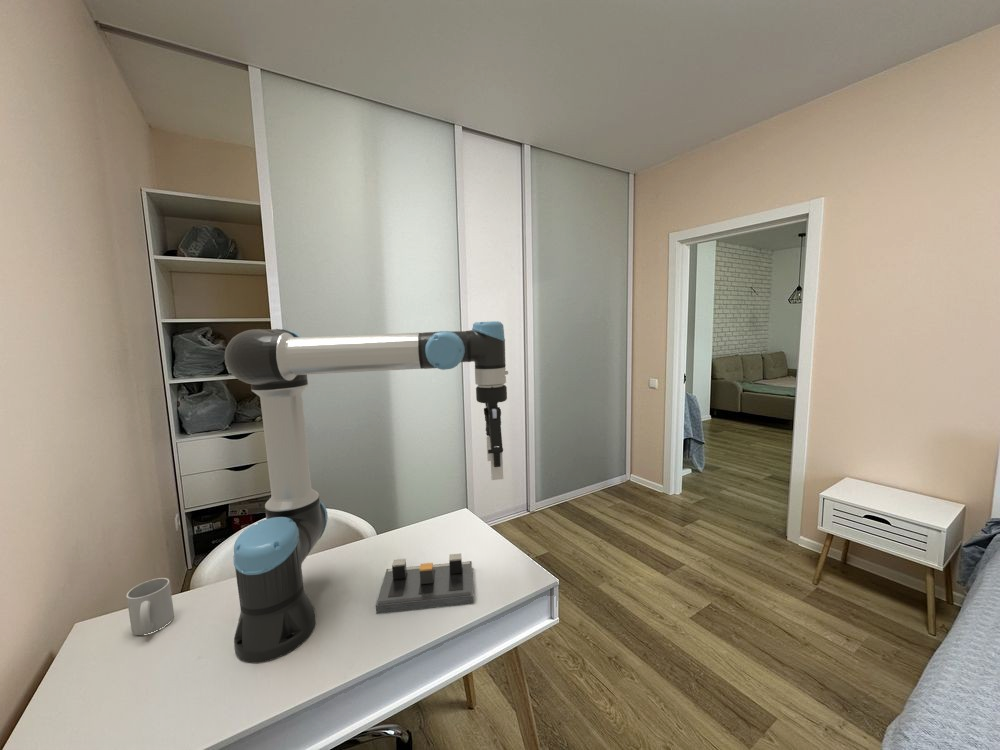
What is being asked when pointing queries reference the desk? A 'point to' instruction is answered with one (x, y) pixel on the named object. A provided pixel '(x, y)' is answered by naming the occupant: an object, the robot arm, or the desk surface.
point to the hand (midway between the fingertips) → (494, 469)
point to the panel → (426, 586)
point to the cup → (150, 606)
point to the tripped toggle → (426, 573)
